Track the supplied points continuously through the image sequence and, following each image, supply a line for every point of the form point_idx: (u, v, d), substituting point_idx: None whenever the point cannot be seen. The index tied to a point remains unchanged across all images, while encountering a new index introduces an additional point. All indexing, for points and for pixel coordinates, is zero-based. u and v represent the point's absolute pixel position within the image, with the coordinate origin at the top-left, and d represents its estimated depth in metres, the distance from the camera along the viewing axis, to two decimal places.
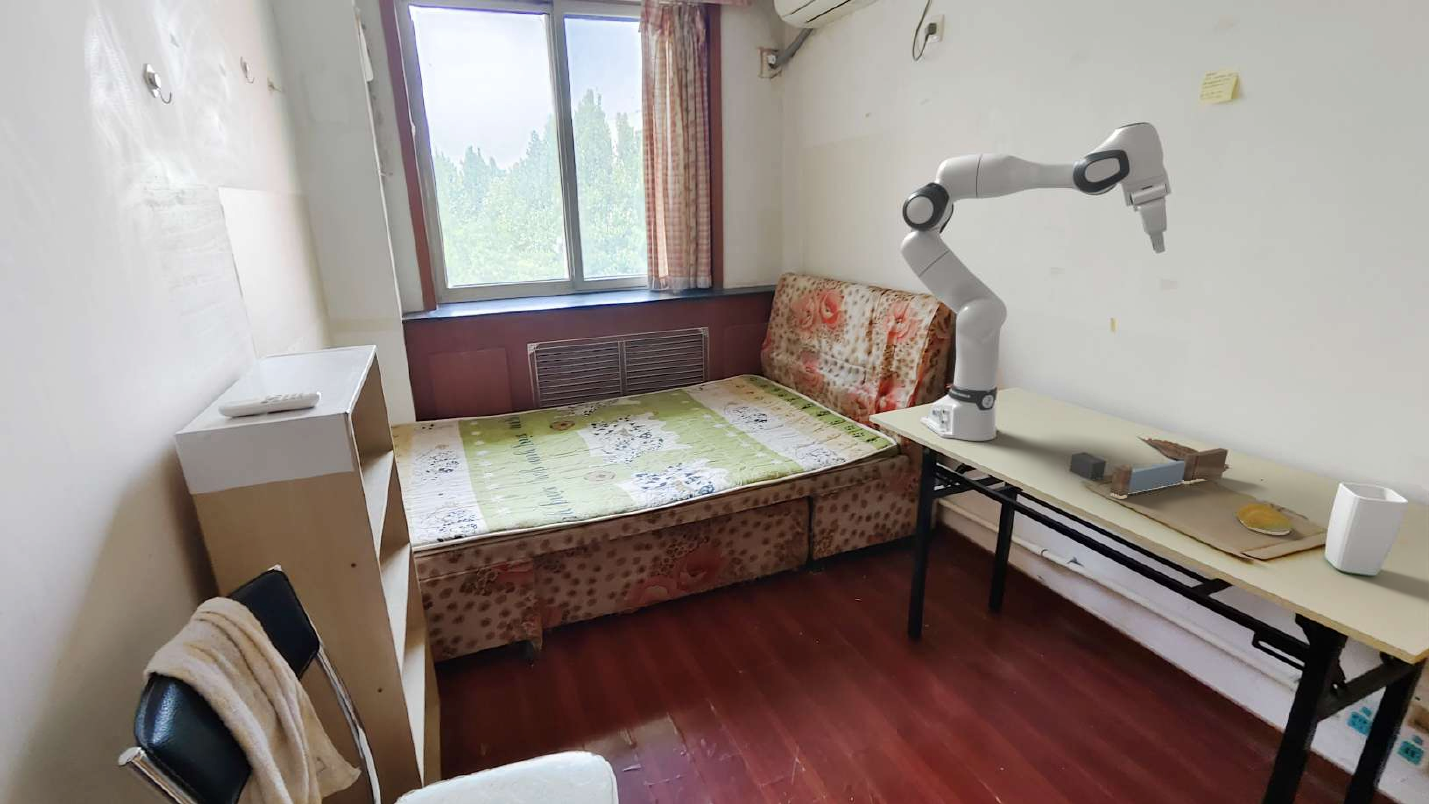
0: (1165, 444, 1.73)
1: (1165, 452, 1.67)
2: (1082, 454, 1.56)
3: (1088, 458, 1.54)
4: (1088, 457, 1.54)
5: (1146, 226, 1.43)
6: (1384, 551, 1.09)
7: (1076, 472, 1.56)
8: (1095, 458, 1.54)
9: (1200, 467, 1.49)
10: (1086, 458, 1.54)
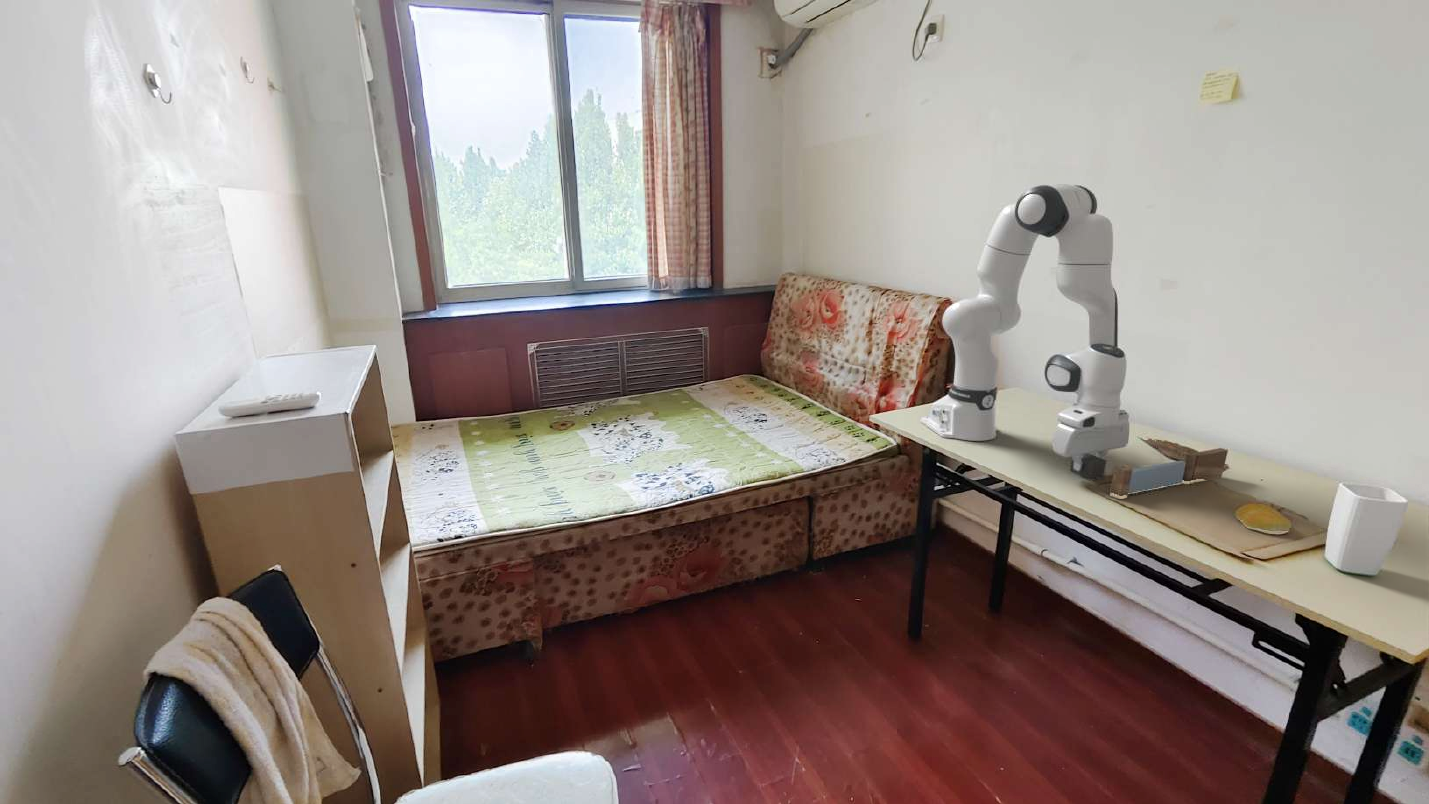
0: (1165, 444, 1.73)
1: (1165, 452, 1.67)
2: None
3: (1088, 457, 1.54)
4: (1088, 456, 1.54)
5: (1053, 444, 1.51)
6: (1384, 551, 1.09)
7: (1076, 472, 1.56)
8: (1095, 458, 1.54)
9: (1200, 467, 1.49)
10: (1086, 457, 1.54)
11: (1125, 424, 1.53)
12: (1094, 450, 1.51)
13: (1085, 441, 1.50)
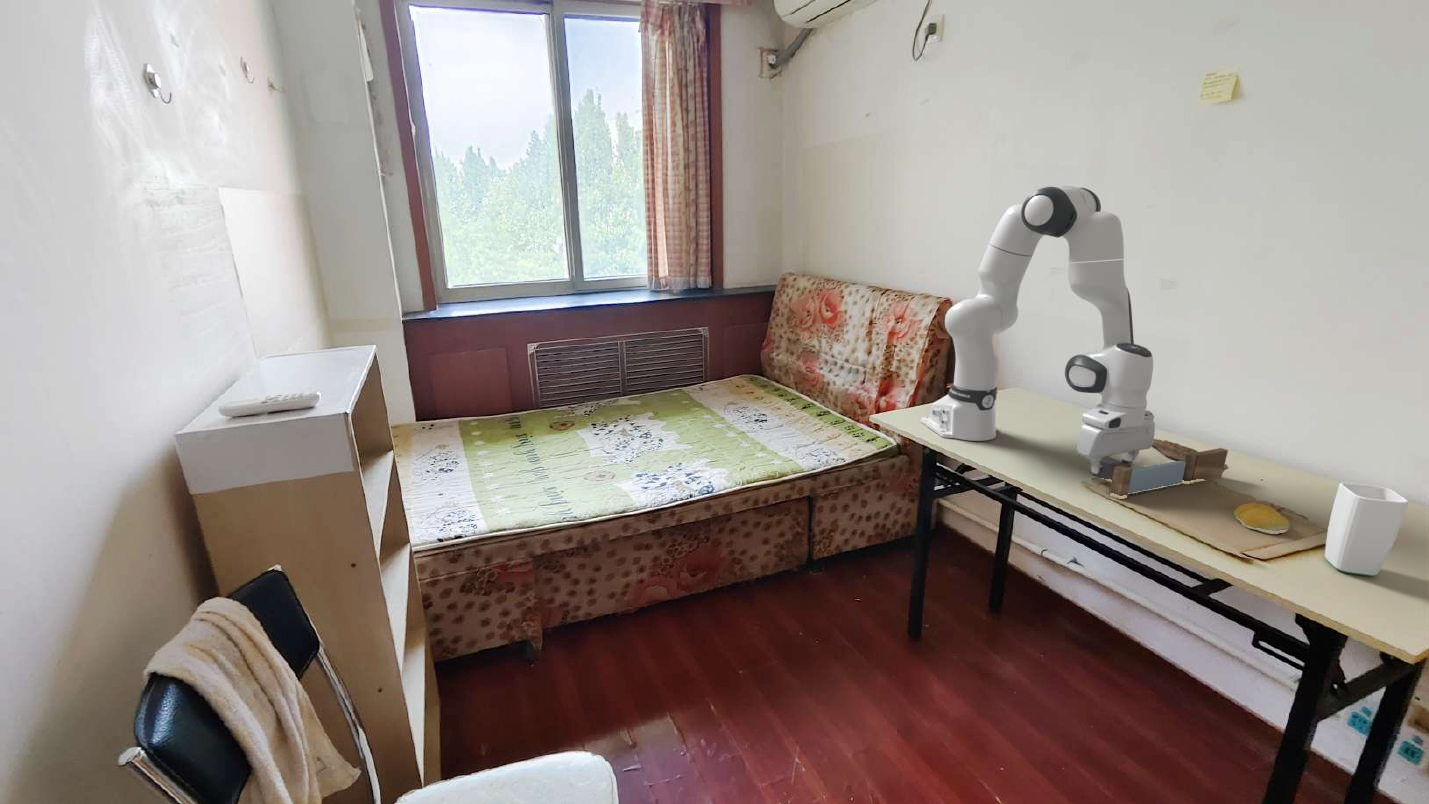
0: (1165, 444, 1.73)
1: (1165, 452, 1.67)
2: (1106, 458, 1.53)
3: (1112, 462, 1.51)
4: (1112, 461, 1.52)
5: (1077, 445, 1.49)
6: (1384, 551, 1.09)
7: (1099, 476, 1.53)
8: (1119, 462, 1.51)
9: (1200, 467, 1.49)
10: (1110, 462, 1.51)
11: (1150, 425, 1.50)
12: (1119, 451, 1.49)
13: (1110, 442, 1.47)
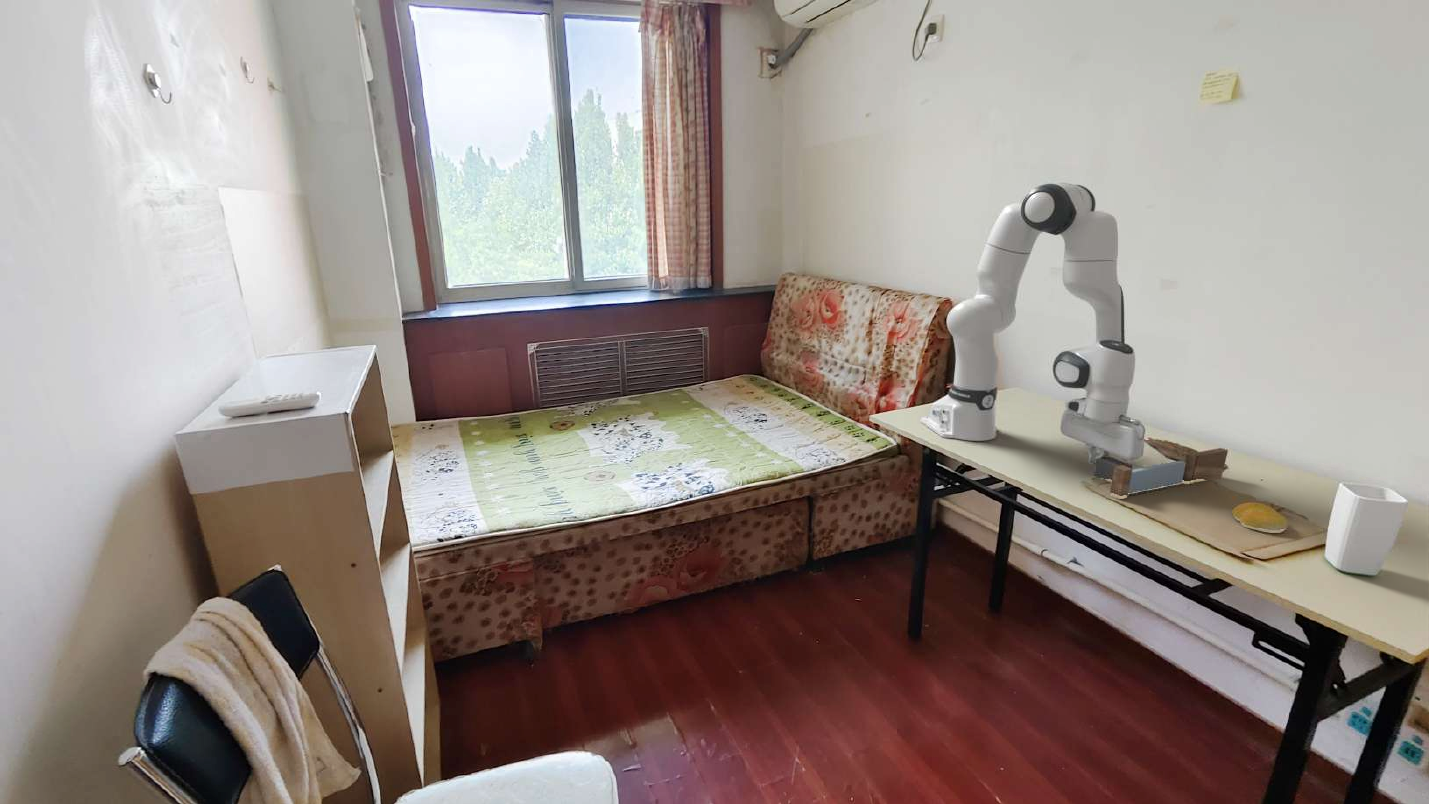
0: (1165, 444, 1.73)
1: (1164, 452, 1.67)
2: (1107, 458, 1.53)
3: (1114, 462, 1.51)
4: (1113, 461, 1.51)
5: None
6: (1384, 551, 1.09)
7: (1101, 477, 1.53)
8: (1121, 462, 1.51)
9: (1200, 467, 1.49)
10: (1111, 462, 1.51)
11: (1126, 433, 1.45)
12: (1089, 442, 1.55)
13: (1080, 428, 1.57)
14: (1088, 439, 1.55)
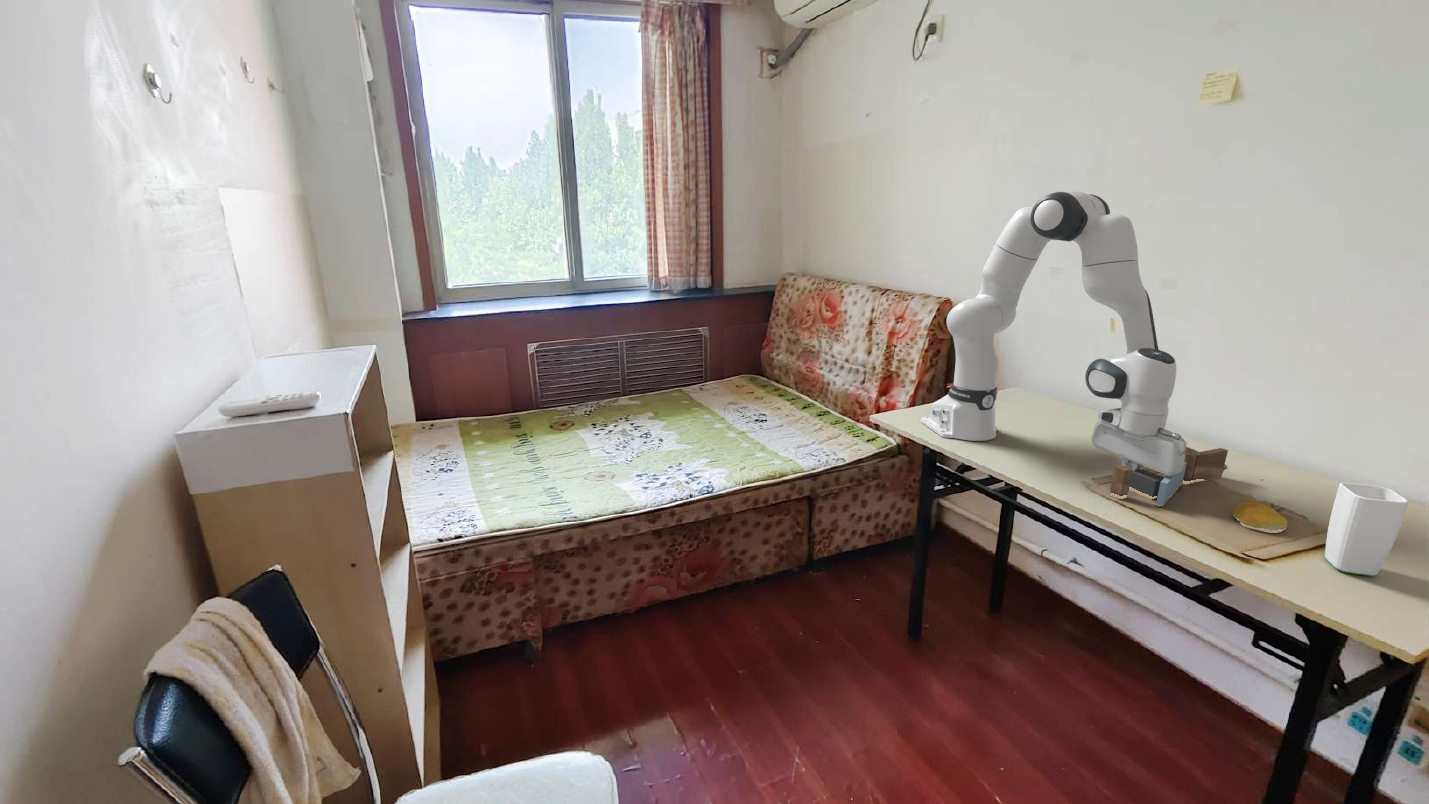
0: None
1: None
2: (1140, 471, 1.46)
3: (1148, 475, 1.43)
4: (1147, 474, 1.44)
5: None
6: (1384, 551, 1.09)
7: None
8: (1155, 475, 1.43)
9: (1200, 467, 1.49)
10: (1146, 475, 1.43)
11: (1165, 447, 1.37)
12: (1124, 455, 1.47)
13: (1114, 440, 1.49)
14: (1122, 452, 1.47)
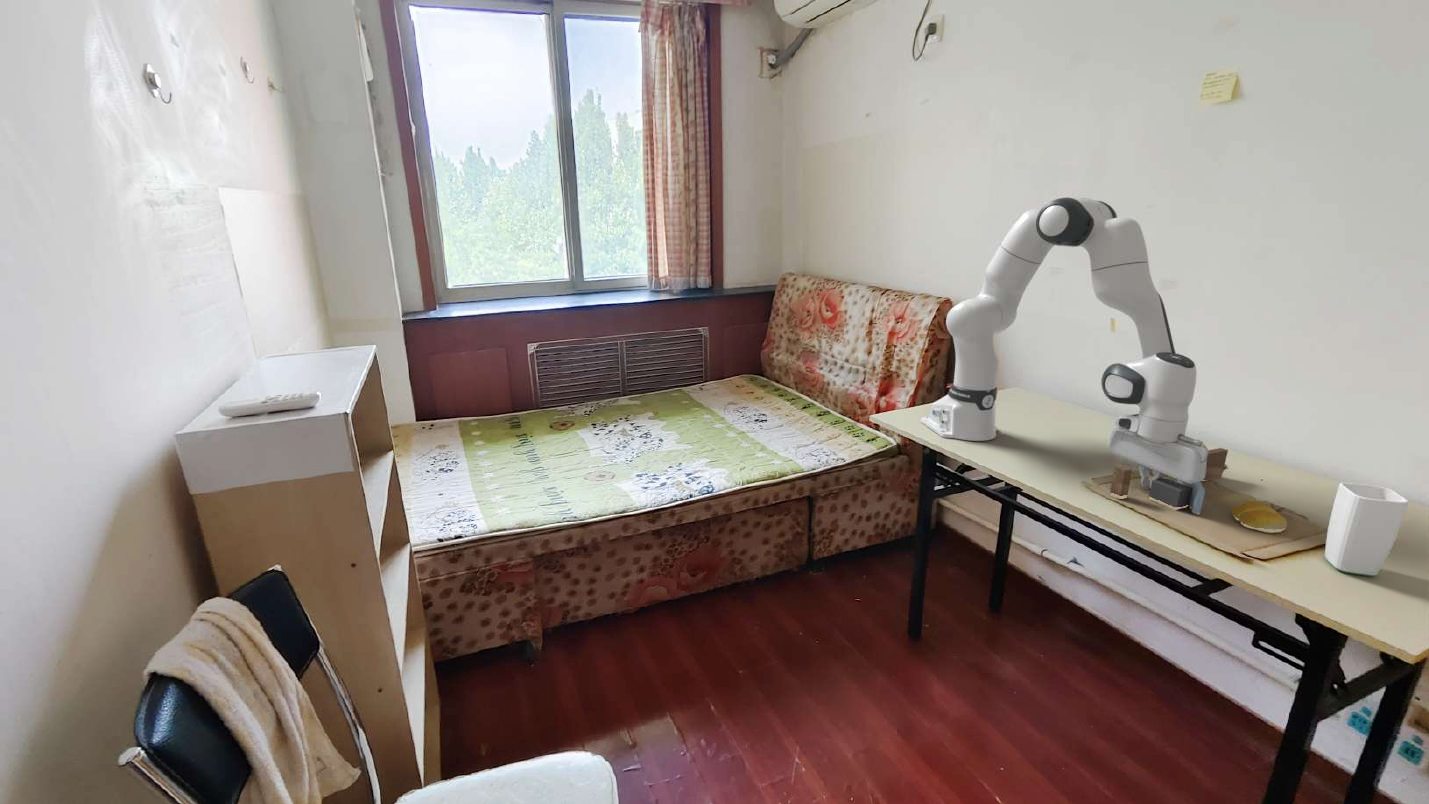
0: None
1: None
2: (1163, 480, 1.41)
3: (1172, 485, 1.38)
4: (1171, 483, 1.39)
5: None
6: (1384, 551, 1.09)
7: None
8: (1179, 485, 1.38)
9: None
10: (1169, 485, 1.38)
11: (1186, 454, 1.33)
12: (1143, 463, 1.43)
13: (1132, 447, 1.45)
14: (1141, 459, 1.43)
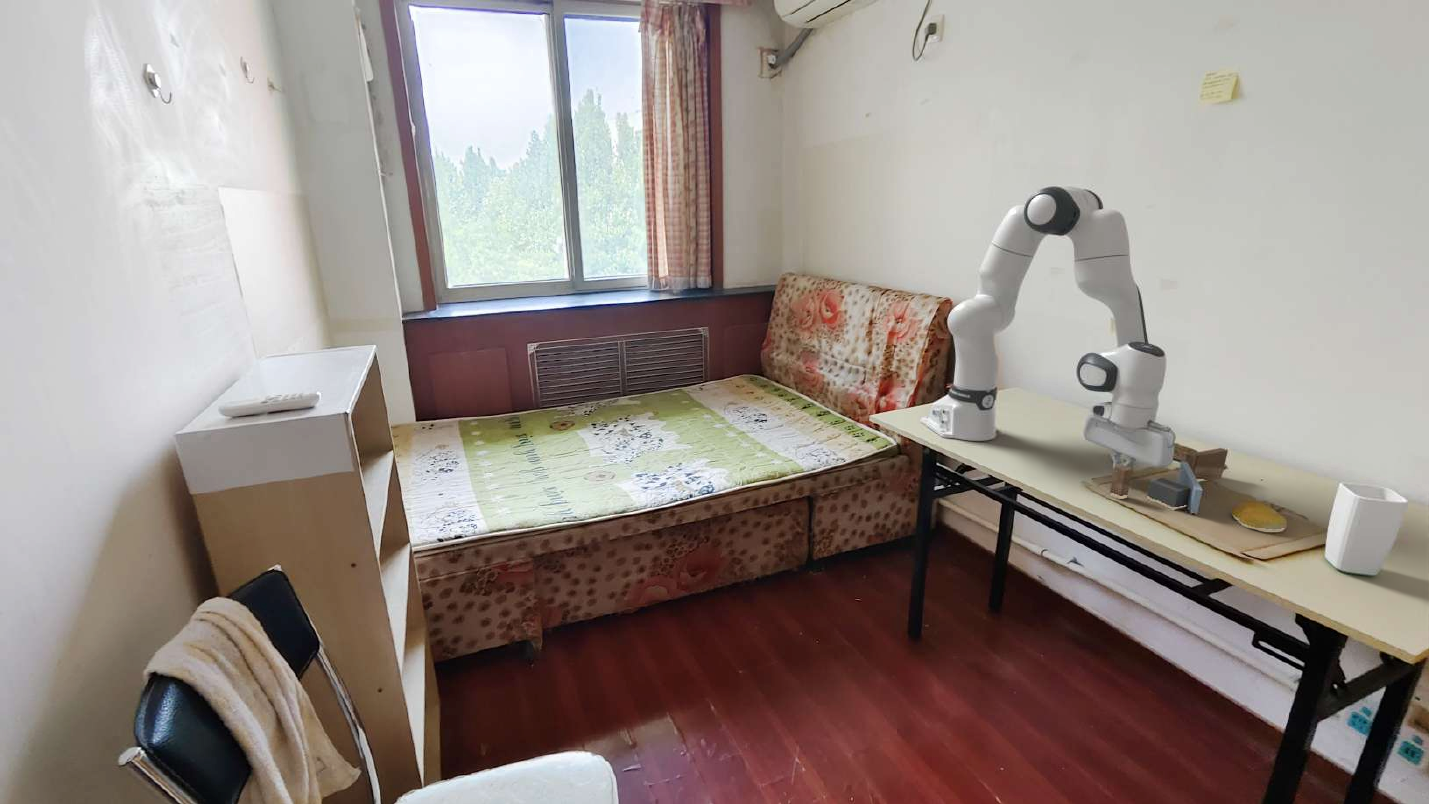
0: None
1: None
2: (1161, 480, 1.41)
3: (1170, 485, 1.39)
4: (1169, 484, 1.39)
5: None
6: (1384, 551, 1.09)
7: None
8: (1177, 485, 1.38)
9: (1200, 467, 1.49)
10: (1167, 485, 1.39)
11: (1155, 439, 1.39)
12: (1115, 448, 1.48)
13: (1105, 433, 1.50)
14: (1113, 445, 1.48)
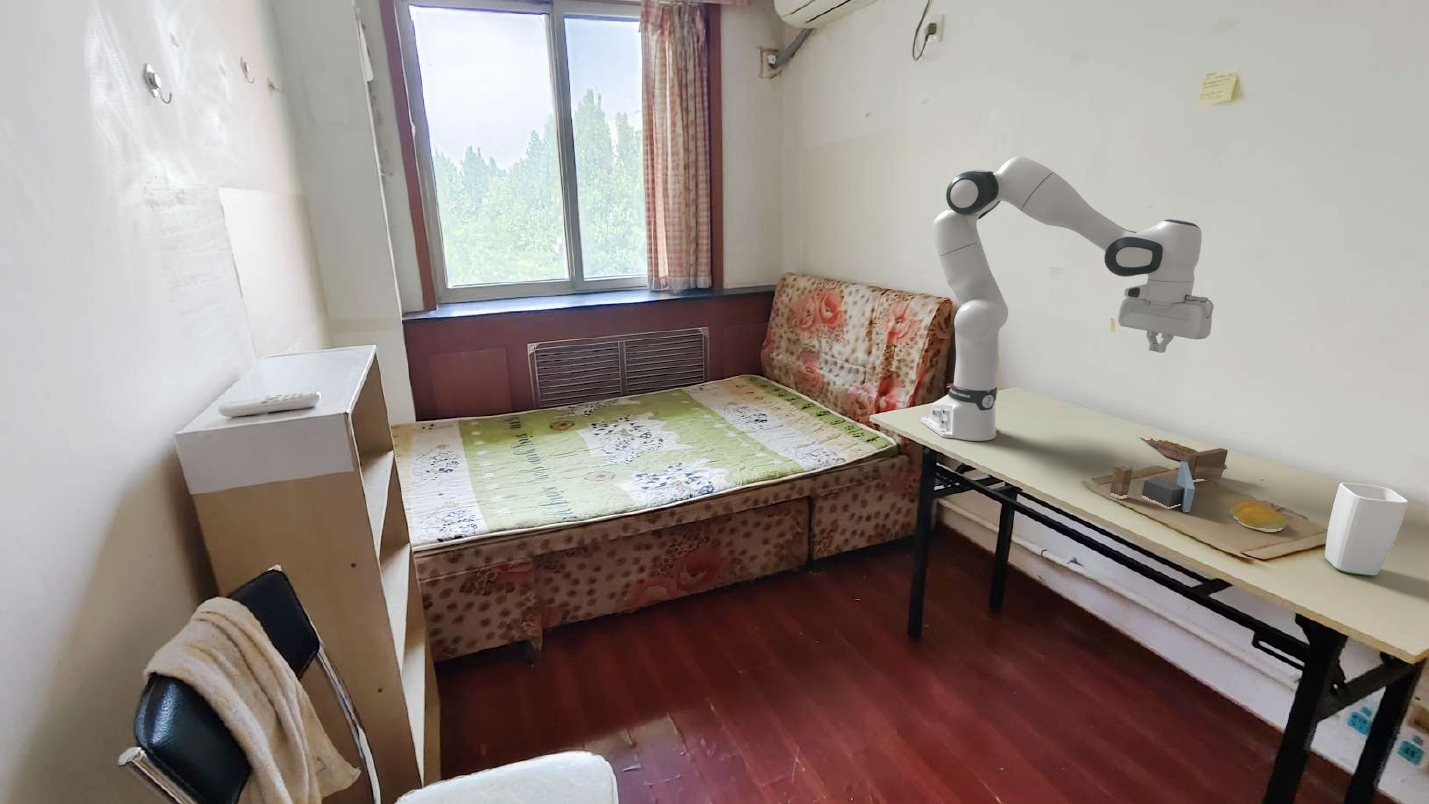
0: (1165, 444, 1.73)
1: (1164, 452, 1.68)
2: (1155, 480, 1.41)
3: (1164, 484, 1.39)
4: (1163, 483, 1.40)
5: None
6: (1384, 551, 1.09)
7: None
8: (1172, 484, 1.39)
9: (1200, 467, 1.49)
10: (1162, 484, 1.39)
11: (1193, 311, 1.41)
12: (1151, 328, 1.51)
13: (1140, 315, 1.53)
14: (1149, 325, 1.51)
